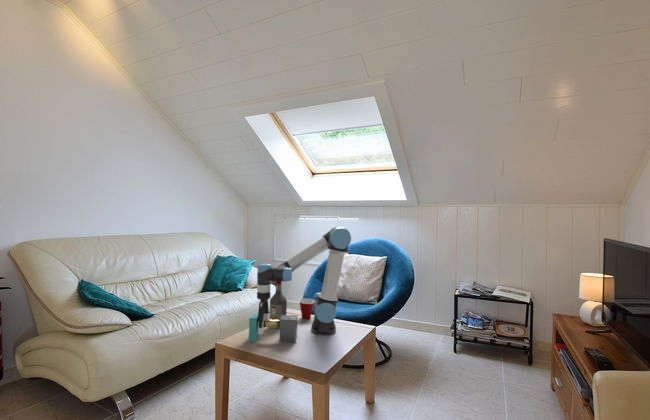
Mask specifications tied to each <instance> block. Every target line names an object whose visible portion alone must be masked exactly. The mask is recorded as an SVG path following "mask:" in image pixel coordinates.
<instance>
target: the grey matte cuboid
mask: <svg viewBox="0 0 650 420" xmlns="http://www.w3.org/2000/svg"><path fill="white" fill-rule="evenodd" d="M278 339H279V340H278V341H279V343H285V344H286V343H288V344H289V343H290V344H291V343H292V344H293V343H294V344H295V343H296V342H297V339H298V315H296V314H295V315H294V314H286V315H282V316H281V318H280V328H279V338H278Z"/></svg>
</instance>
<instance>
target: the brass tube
mask: <svg viewBox="0 0 650 420" xmlns="http://www.w3.org/2000/svg"><path fill="white" fill-rule="evenodd" d="M257 320H258V319H257ZM257 327H258V322H257ZM273 327H280V320H270V319H268V320H266V319H263V329H265V328H273Z"/></svg>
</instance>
